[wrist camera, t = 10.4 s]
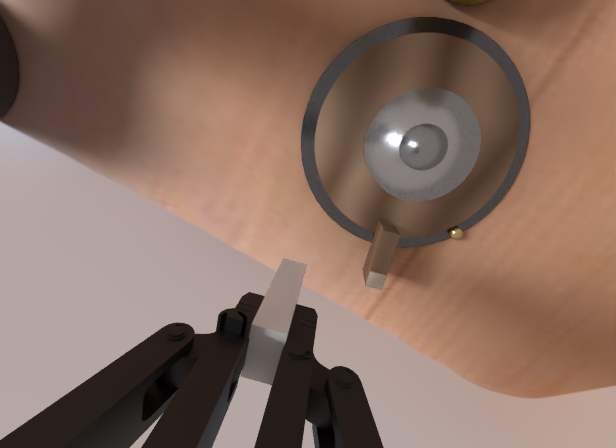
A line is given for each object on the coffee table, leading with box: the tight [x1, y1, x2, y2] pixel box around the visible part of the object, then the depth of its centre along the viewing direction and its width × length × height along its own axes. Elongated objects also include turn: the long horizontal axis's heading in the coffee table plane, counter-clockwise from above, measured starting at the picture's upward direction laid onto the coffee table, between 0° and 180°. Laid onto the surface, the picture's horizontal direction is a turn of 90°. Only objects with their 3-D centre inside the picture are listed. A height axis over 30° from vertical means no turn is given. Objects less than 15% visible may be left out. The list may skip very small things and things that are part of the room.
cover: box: [363, 87, 481, 201], centre depth 26 cm, size 9×9×5 cm
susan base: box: [301, 17, 530, 247], centre depth 29 cm, size 22×22×1 cm
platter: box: [315, 33, 519, 290], centre depth 28 cm, size 19×24×5 cm
